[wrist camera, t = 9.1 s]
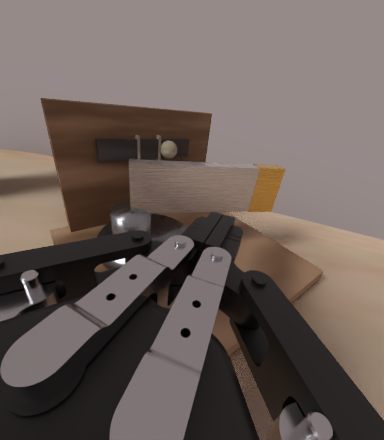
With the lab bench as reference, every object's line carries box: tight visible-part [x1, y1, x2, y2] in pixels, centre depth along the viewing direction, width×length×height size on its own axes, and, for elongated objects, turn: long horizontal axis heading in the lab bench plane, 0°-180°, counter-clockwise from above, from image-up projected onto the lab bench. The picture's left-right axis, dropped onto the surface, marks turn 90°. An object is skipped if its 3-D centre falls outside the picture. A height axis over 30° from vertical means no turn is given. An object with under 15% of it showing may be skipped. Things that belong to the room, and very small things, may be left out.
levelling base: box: [41, 98, 323, 356], centre depth 21 cm, size 22×24×16 cm
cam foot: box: [97, 159, 285, 270], centre depth 23 cm, size 20×10×10 cm, turn 104°
